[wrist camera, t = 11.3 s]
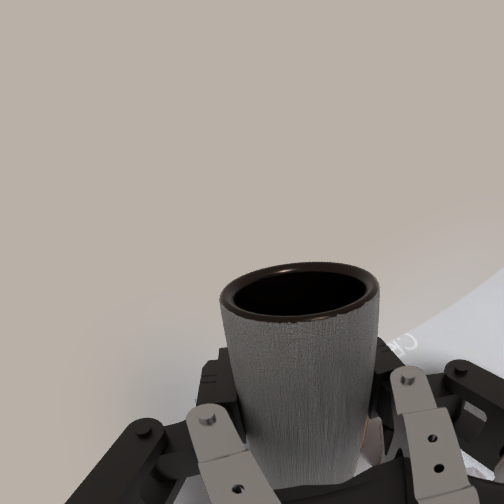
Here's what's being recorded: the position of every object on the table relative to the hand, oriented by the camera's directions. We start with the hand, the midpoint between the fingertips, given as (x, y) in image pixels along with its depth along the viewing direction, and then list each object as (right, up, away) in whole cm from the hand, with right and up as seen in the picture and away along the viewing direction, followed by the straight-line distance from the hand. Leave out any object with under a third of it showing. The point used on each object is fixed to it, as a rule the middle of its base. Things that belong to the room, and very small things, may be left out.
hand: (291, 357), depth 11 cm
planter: (+1, -7, -1) cm, 7 cm away
